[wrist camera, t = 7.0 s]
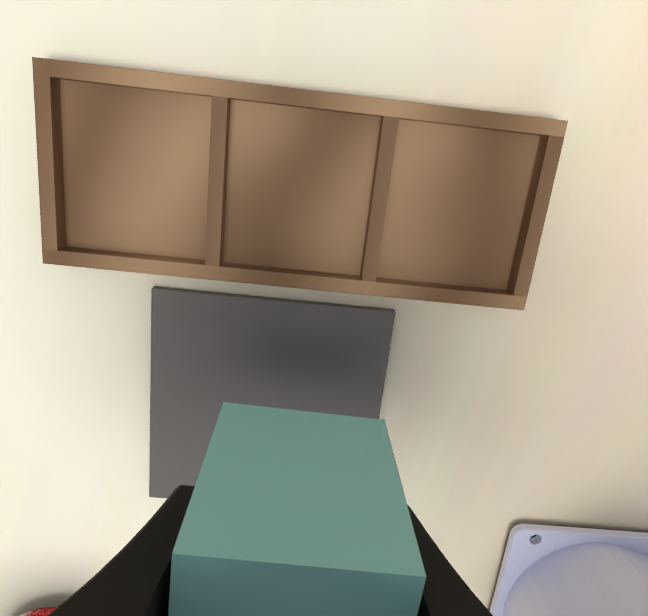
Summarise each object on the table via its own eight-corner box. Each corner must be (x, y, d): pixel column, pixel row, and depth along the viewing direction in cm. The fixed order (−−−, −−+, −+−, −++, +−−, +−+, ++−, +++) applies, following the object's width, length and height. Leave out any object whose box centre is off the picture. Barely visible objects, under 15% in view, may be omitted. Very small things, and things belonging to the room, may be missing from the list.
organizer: (554, 121, 18) (567, 120, 17) (513, 302, 20) (523, 310, 19) (47, 61, 17) (32, 56, 16) (56, 257, 19) (42, 263, 18)
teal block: (384, 419, 13) (426, 577, 8) (359, 550, 14) (383, 753, 10) (223, 402, 13) (171, 553, 8) (211, 536, 14) (160, 738, 9)
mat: (394, 309, 20) (395, 312, 20) (363, 507, 23) (364, 512, 22) (153, 286, 19) (151, 288, 19) (151, 492, 22) (149, 496, 22)
